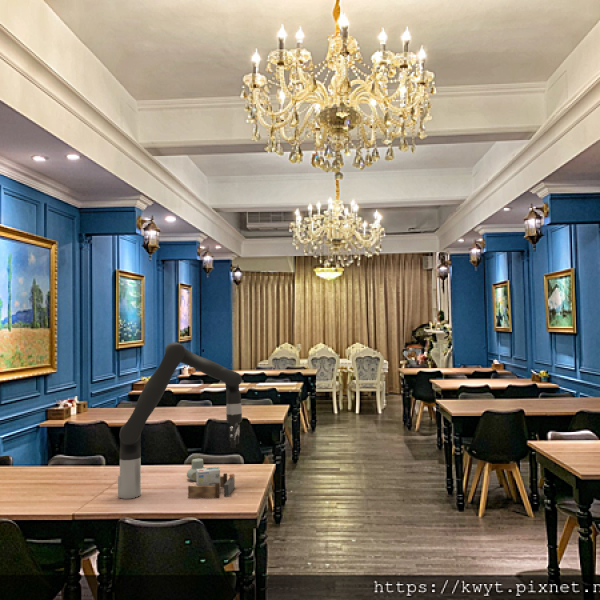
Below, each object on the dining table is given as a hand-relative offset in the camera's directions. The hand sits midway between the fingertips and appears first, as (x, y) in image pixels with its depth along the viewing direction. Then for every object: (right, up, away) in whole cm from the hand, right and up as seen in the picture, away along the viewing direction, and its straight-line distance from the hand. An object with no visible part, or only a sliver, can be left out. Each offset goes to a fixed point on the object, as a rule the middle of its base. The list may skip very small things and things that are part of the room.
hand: (234, 446), depth 265 cm
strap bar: (-1, -18, -13) cm, 22 cm away
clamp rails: (-11, -18, -13) cm, 25 cm away
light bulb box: (-11, -18, -13) cm, 25 cm away
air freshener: (-20, -20, +10) cm, 30 cm away
